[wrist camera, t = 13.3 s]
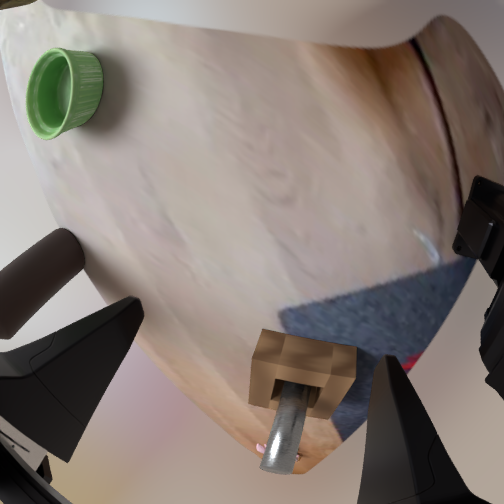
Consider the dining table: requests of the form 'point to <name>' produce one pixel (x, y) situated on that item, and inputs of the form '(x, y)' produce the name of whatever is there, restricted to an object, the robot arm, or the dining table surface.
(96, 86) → the ramekin
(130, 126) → the dining table surface
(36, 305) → the bottle
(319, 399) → the walnut square frame
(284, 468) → the steel rod
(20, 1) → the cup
